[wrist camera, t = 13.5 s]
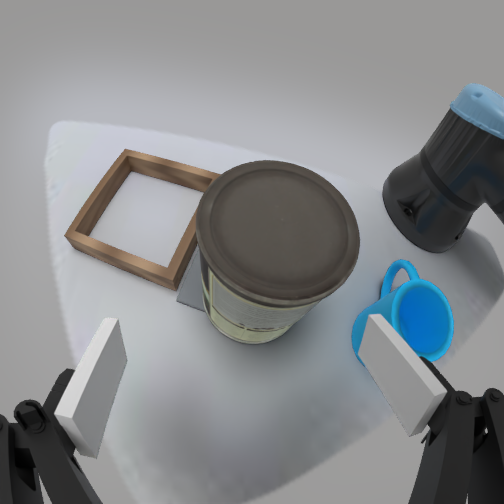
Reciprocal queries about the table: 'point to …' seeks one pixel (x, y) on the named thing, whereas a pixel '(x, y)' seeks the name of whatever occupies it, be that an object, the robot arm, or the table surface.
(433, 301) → the mug
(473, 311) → the table surface
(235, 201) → the coffee can
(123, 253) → the crate
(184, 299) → the mat
